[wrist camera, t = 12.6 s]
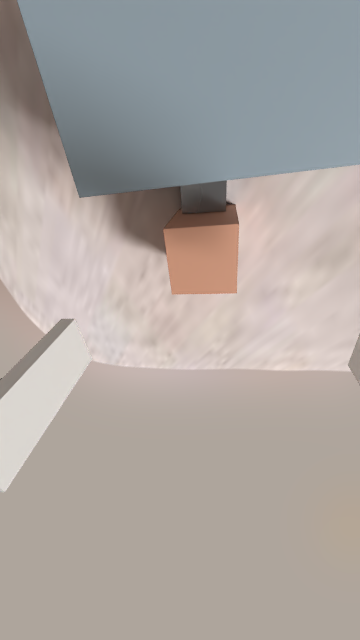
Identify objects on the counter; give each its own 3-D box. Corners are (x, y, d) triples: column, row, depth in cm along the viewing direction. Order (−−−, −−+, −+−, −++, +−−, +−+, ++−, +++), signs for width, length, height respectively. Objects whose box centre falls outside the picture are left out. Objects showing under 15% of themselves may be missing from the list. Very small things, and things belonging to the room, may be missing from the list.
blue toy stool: (101, -27, 15) (-70, -273, 6) (334, -100, 12) (587, -686, 4) (139, 179, 21) (79, 197, 12) (299, 158, 18) (363, 164, 10)
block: (179, 209, 22) (163, 229, 16) (235, 204, 21) (238, 224, 15) (184, 261, 25) (172, 294, 19) (233, 259, 24) (236, 293, 18)
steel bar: (161, -192, 12) (145, -283, 9) (234, -220, 11) (237, -324, 9) (187, 206, 22) (182, 213, 19) (225, 204, 21) (225, 211, 19)
